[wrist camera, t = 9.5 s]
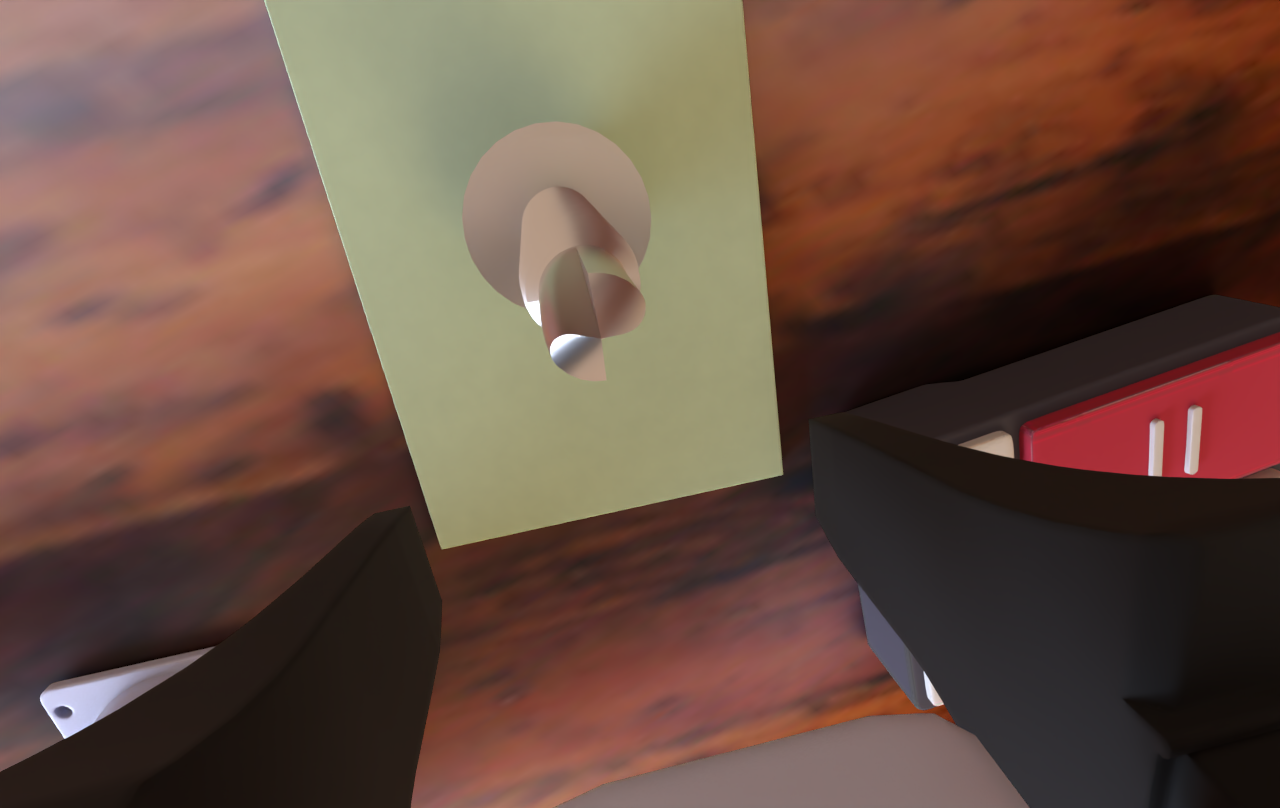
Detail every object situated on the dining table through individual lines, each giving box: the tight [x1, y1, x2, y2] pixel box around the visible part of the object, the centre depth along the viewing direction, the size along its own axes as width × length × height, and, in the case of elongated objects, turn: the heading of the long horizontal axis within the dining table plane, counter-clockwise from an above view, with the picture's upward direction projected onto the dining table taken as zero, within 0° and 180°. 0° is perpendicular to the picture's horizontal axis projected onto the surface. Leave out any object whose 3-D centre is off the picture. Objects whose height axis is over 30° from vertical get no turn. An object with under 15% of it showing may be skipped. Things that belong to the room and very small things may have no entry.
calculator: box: [844, 295, 1280, 710], centre depth 25 cm, size 11×4×15 cm
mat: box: [264, 0, 783, 549], centre depth 20 cm, size 20×12×1 cm, turn 9°
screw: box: [462, 121, 651, 381], centre depth 13 cm, size 13×5×5 cm
